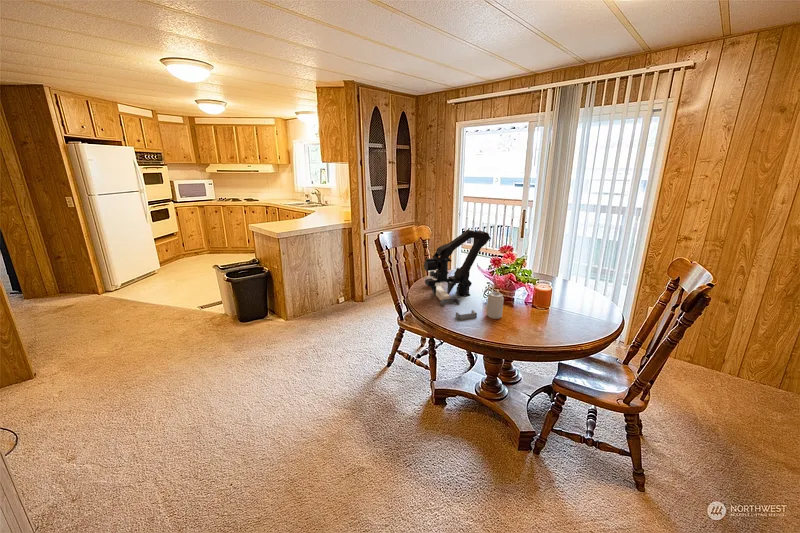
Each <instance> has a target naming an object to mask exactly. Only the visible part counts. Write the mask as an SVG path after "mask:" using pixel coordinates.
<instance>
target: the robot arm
mask: <svg viewBox="0 0 800 533" xmlns="http://www.w3.org/2000/svg"><path fill="white" fill-rule="evenodd" d="M471 238H472V240H473V241H472V242H473V244H472V246H471V248H470V250H469V252H468V254H467V255H466V257H465V260H464V261H463V263H462V266H461V267H456V269H455V271H454V272H453V274H454V275H453V276H448V274H449V271H448V269H449V268H448V266H449V262H450V263H452V260H451V259H450V257H451V255H453V253H454V251H455V250H456V249H457V248H459V247H461V245H463V244H464V243H466V242H467V241H469V240H470V239H471ZM490 238H491V237H490V234H489V233H488V232H486V231H482V230H477V231H475V230H471V229H466V230H465V231H464V232H463V233H461V234H460V235H457V237H456V238H454V239H453V240H451V241H450V242H448V243H445V244H443V245H440V246H438V248H436V252H435V253H434V255H433V256H432V257H431V258H425V261H424V263H423V268H424V271H425V272H428V271H430V276H431V277H433V278H435V279H437V280H433V279H432V278H431V279H429V278H425V280H424V284H425V285H426V286H427V287H429V288H431V291H432V294H433V296H434V297H436V286H435V283H443V284H444V283H446V284H447V290H446V291H447V292H446V293H447V294H448V295H449V296H450V293H451V291H452V290H453V288H454V287H455V286H456V285H457V286H456V291H455V293H456V295H458V297H468V296H469V297H470V296H471V294H470V287H472V284H473V283H472V282H471V280H470V279H469V278H470V270H471V268H472V266H473V265H474V262H476V259H477V256H478V255H479V253H480V251H481V249H482V248H483V247H485V245H486V244H487V243H488V241H489V240H490ZM436 269H437V270H436ZM432 270H436V272H434V271H432Z"/></svg>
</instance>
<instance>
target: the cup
mask: <svg viewBox="0 0 800 533" xmlns="http://www.w3.org/2000/svg"><path fill="white" fill-rule="evenodd" d="M436 270H437V269H436ZM436 270H432V271H434V272H436ZM427 274H428V275H427V276H428V279H431V278H432V279H433V280H437V279H435V278H433V277H431V276H430V271H427ZM443 284H444V283H435V286H436V287H437V286H441V287H443Z"/></svg>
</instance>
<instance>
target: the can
mask: <svg viewBox="0 0 800 533" xmlns="http://www.w3.org/2000/svg"><path fill="white" fill-rule="evenodd" d="M504 299H505V298H504V296H503V294H502V293H501V292H495V291H493V292H489V295H488V296H487V305H486V316H487V317H488V318H489V319H493V320H498V319H500V318H502V317H503V310H504V301H505V300H504Z"/></svg>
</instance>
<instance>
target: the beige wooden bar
mask: <svg viewBox="0 0 800 533" xmlns="http://www.w3.org/2000/svg"><path fill="white" fill-rule="evenodd" d="M435 297H437V298H438V299H439V301H441V300H442V299H450V297H451V295H450V294H449V295H448V294H447V292H446V290H444V288H443V286H437V287H436V295H435Z"/></svg>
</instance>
